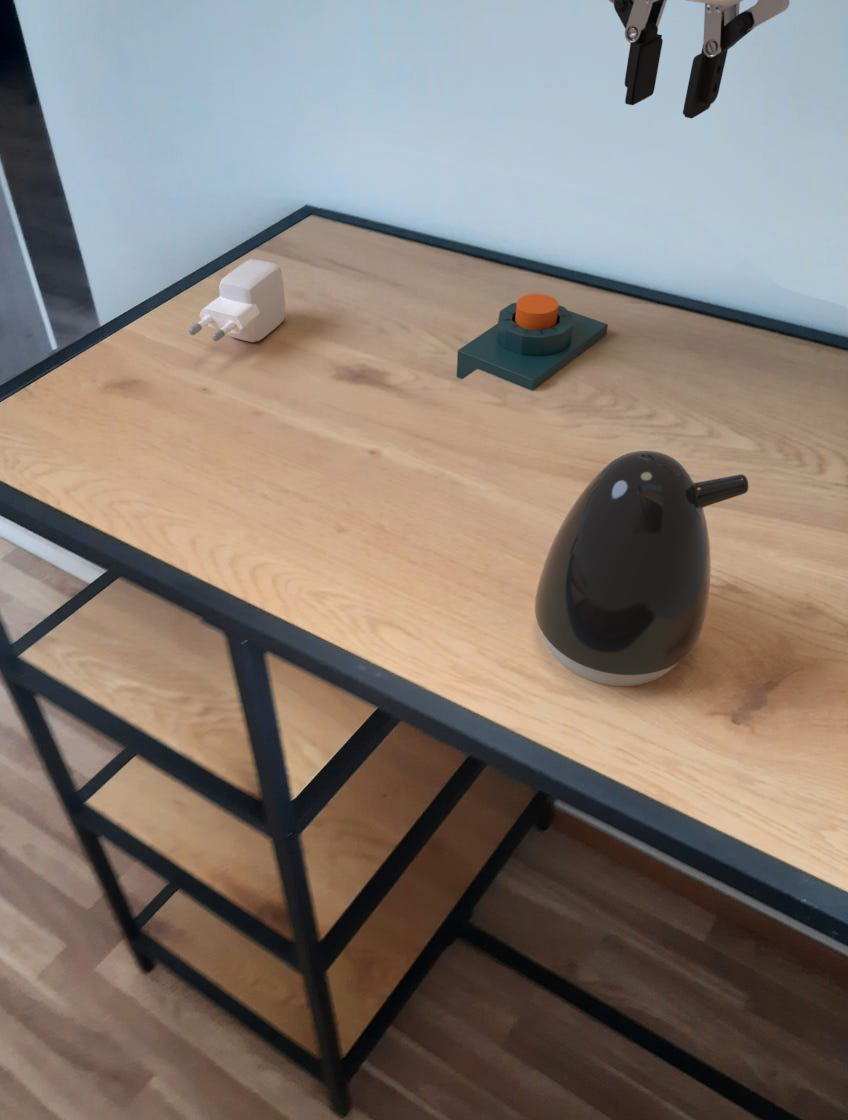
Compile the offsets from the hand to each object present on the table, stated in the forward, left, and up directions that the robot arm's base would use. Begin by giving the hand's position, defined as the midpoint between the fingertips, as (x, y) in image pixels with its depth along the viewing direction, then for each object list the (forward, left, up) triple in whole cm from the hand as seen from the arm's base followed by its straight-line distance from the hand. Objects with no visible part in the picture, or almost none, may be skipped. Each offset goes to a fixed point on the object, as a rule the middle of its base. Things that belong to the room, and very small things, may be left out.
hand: (667, 103), depth 70 cm
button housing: (+6, -6, -21) cm, 23 cm away
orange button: (+6, -6, -17) cm, 19 cm away
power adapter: (+19, -30, -22) cm, 42 cm away
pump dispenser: (+32, +18, -22) cm, 43 cm away
